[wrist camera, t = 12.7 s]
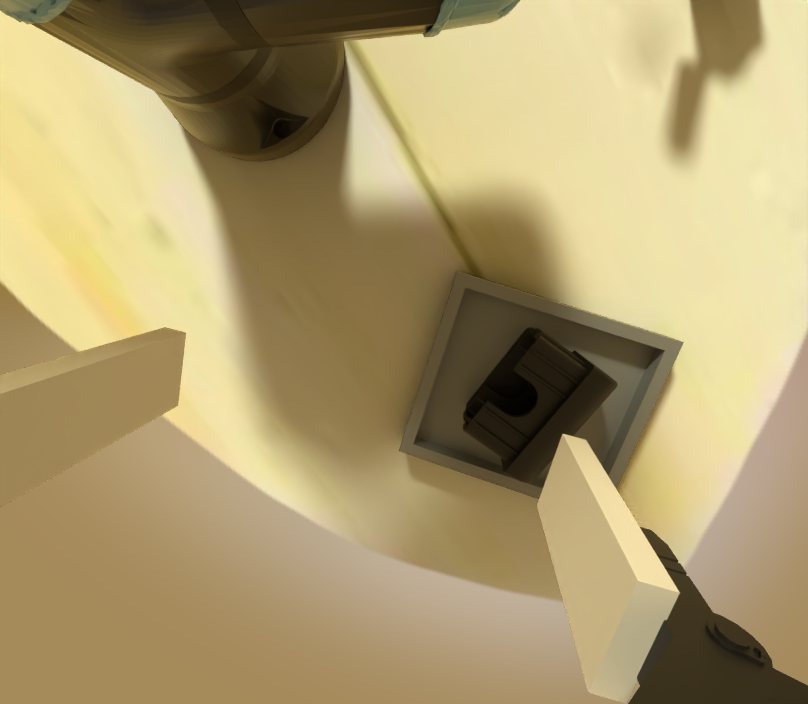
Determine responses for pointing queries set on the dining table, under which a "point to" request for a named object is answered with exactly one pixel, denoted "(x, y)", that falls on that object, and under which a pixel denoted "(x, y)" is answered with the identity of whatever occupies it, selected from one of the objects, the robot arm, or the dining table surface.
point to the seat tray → (489, 342)
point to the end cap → (534, 403)
